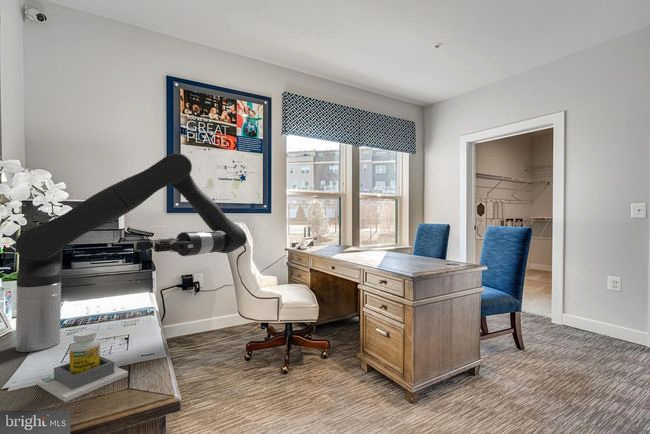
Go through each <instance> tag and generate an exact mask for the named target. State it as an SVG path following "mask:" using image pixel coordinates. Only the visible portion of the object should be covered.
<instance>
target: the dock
mask: <svg viewBox="0 0 650 434" xmlns="http://www.w3.org/2000/svg"><path fill="white" fill-rule="evenodd" d="M128 376H129V371H127V370H125V369H123V368H120V367H118V366H116V365H115V361H113V360H110V359H109V358H106V357H104V356H101V355H100V366H98V367H95V368H92V369H90V370H87V371H84V372H81V373H79V374H76V375H74V374H72V373H70V362H68V363H64V364H62V365H58V366H56V367H54V368H53V375H52V376H49V375H48V376H45V377H43V378H42V379H40V380H38V382H37V384H38V387H40V388H41V389H42V390H45V391H46V392H48V393H50V394H51V395H52V396H54V397H56V398H57V399H59V400H61V401H62V402H64V403H66V402H69V401H72V400H74V399H76V398H78V397H81V396H83V395H86V394H88V393H91V392H93V391H95V390H98V389H101V388H102V387H104V386H107V385H110V384H112V383H115V382H117V381H119V380H122V379H124V378H126V377H128Z"/></svg>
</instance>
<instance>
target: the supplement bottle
mask: <svg viewBox="0 0 650 434" xmlns="http://www.w3.org/2000/svg"><path fill="white" fill-rule="evenodd" d="M100 348H101V343H100V340H99V339H98V338H97V330H95V329H84V330H80V331H77V332H75V333H74V334H73V343H72V344H71V345H70V347H69V363H70V373H72V374H74V375H76V374H79V373H81V372H84V371H87V370H90V369H92V368H95V367H98V366H100V356H101V354H100V353H101V349H100Z"/></svg>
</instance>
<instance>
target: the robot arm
mask: <svg viewBox="0 0 650 434" xmlns="http://www.w3.org/2000/svg"><path fill="white" fill-rule="evenodd" d="M192 165H193V164H192V161H191V160H190V158H189V157H188V156H187V155H185V154H183V153H178V152H175V153H174V152H173V153H170V154H168V155H166V156H165V157H163V158H161V159H160V160H158V161H157V162H156V163H154V164H152V165H151V166H150V167H148V168H146V169H144V170H142V171H140V172H138V173H136V174H134V175H132V176H129V177H126V178H125V179H122V180H120V181H118V182H116V183H114V184H111V185H110V186H108V187H106V188H104V189H102V190H100V191H98V192H97V193H95V194H93V195H91V196H90V197H88V198H87V199H85V200H83V201H82V202H80V203H78V204H77V205H76V206H75V207H72V208H71V209H70V210H69V211H67V212H65V213H64V214H61V215H59V216H58V217H55V218H52V219H51V220H48V221H45V222H44V223H40V224H38V225H35V226H33V227H30V228H29V227H28V228H27V229H25V230H24V231H22V232H20V234H19V235H18V236H17V238H16V240H15V251H16V253H17V254H18V271H17V274H16V275H17V276H16V303H15V304H16V307H15V309H16V310H15V351H16V352H18V353H19V352H20V353H27V352H29V353H30V352H37V351H41V350H46V349H48V348H52V347H55V346H56V345H58V344H60V342H61V310H62V309H61V306H62V304H61V303H62V300H61V299H62V271H63V249H64V248H65V247H67V246H68V245H70V244H71V243H72V242H74V241H76V240H77V239H79V238H80V237H82V236H84V235H85V234H87V233H90V232H91V231H94V230H96V229H99V228H101V227H103V226H105V225H107V224H109V223H111V222H113V221H115V220H118V219H119V218H121V217H123V216H124V215H126V214H128V213H129V212H131V211H132V210H134V209H136V208H137V207H139V206H140V205H142V204H143V203H144V202H145V201H147V200H148V199H149V198H151V197H152V196H153V195H154V194H155V193H157V192H158V191H160V190H162V189H164V188H165V187H167V186H169V185H170V186H172V187H173V188H174V189H175V190H176V191H177V192H178V193H179V194H180V195H181V196H183V198H184V199H185V200H186V201H187V202H188V203H189V205H190V206H191V207H192V208H193V209H194V211H195V212H196V213H197V214H198V215H199V216H200V218H201V219H202V221H203V222H204V223H205V224H206V225H207V227H208V228H209V229H210V231H182V232H180V233H179V234H178V235H176V238H175V237H168V238H159V239H153V240H151V239H148V240H146V241H137V242H136V243H135V250H137V251H138V250H139V251H143V250H154V252H155V253H161V252H170V253H177V254H178V255H179V256H181V257H191V256H198V255H199V256H200V255H204V254H209V253H221V254H228V253H232V252H234V251H236V250H238V249H239V248H241V247H244V245H245V244H246V243H247V240H248V238H247V234H246V233H245V231H244V230H243V229H242V228H241V227H240V226H239V225H238V224H236V223H235V222H234V221H233V220H231V219H230V218H228V217H227V216H226V214H225V213H224V212H223V210H222V209H221V208H220V206H219V205H218V204H217V203H216V202H215V201H214V200H213V199H212V198H211V197H210V196H208V194H205V192H204V191H203V190H202V189H201V188H200V187H199V185H198V184H197V183H196V182H195V180H194V179H193V177H192V175H191V173H192V169H193V166H192ZM219 231H221V232H223V233H224V234H223V233H221V232H219Z"/></svg>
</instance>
